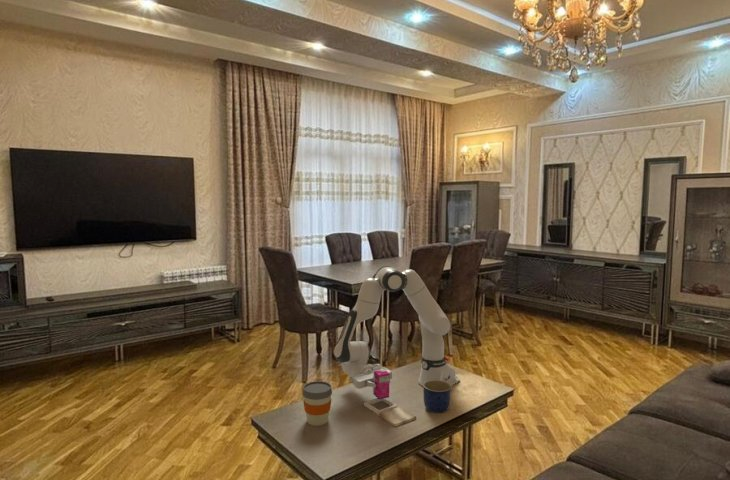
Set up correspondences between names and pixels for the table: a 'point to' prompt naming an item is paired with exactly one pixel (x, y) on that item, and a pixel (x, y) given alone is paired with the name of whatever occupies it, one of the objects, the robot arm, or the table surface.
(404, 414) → the board
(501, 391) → the table surface
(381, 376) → the supplement box
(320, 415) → the reusable coffee cup
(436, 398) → the planter
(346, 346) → the robot arm
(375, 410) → the square tray
